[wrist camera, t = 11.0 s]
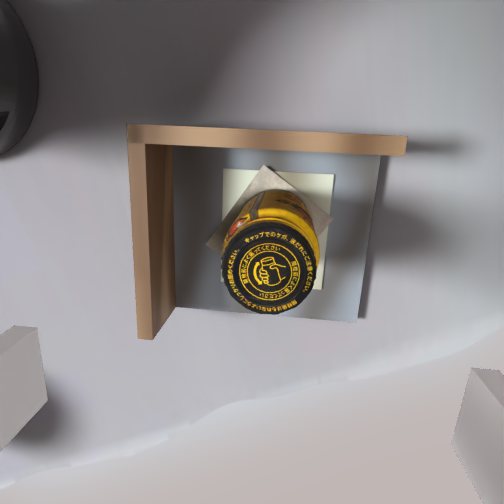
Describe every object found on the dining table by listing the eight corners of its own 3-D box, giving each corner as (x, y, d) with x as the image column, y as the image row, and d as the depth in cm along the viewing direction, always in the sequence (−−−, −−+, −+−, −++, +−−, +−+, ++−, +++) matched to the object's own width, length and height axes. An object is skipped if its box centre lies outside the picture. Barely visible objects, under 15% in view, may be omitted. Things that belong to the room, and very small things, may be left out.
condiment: (333, 218, 30) (360, 264, 19) (272, 291, 32) (262, 372, 21) (263, 164, 29) (247, 178, 18) (206, 243, 32) (159, 300, 20)
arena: (166, 301, 35) (138, 338, 28) (162, 127, 30) (126, 123, 24) (354, 317, 34) (370, 360, 27) (380, 137, 29) (407, 136, 22)
